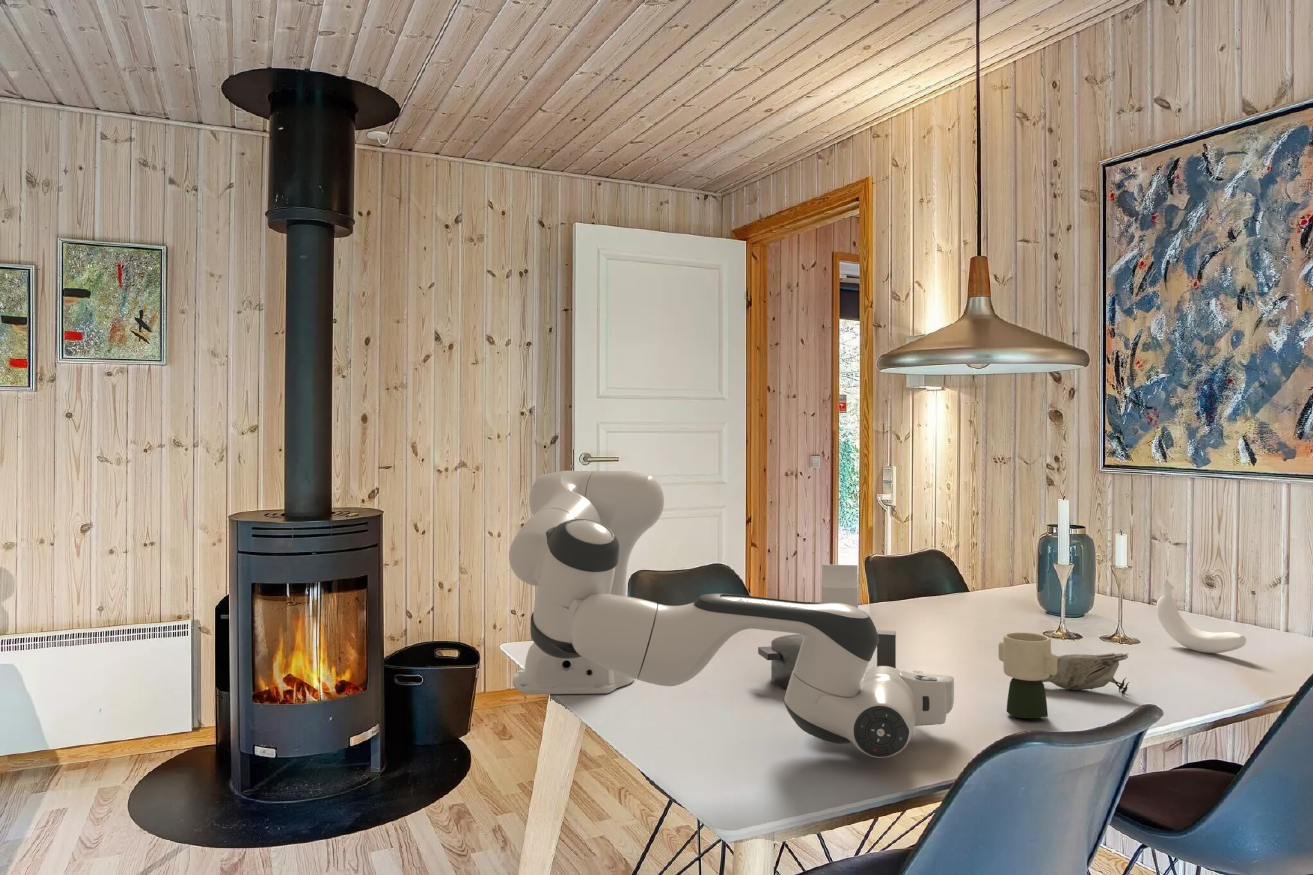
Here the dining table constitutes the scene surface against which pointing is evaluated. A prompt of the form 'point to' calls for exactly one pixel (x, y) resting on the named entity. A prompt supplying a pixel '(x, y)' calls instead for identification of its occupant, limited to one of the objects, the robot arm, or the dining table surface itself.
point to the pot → (782, 658)
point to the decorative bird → (1087, 671)
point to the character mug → (1027, 672)
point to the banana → (1193, 629)
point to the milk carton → (840, 584)
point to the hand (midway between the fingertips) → (888, 673)
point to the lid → (886, 648)
